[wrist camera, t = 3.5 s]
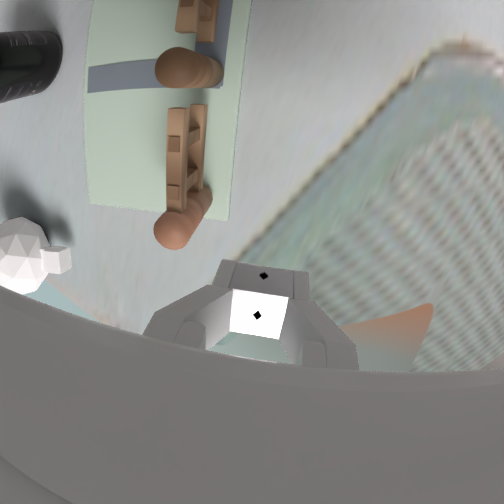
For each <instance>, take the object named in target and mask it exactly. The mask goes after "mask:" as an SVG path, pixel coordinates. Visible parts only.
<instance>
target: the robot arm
mask: <svg viewBox="0 0 504 504" xmlns="http://www.w3.org/2000/svg"><path fill="white" fill-rule="evenodd" d="M229 331H233V332H240V333H248V334H254V335H259V336H265V337H271V338H276V339H278V340H279V342H280V344H281V345H282V347H283V349H284V350H285V352H286V354H287V355H288V357H289V359H290V361H291V363H292V364H286V363H279V362H272V361H265V360H258V359H251V358H246V357H239V356H234V355H229V354H223V353H218V352H213V351H208V350H209V349H210V348H211V347H213V346H214V345H215V344H216V343H217V342H219V341H220V340H221V339H222V338H223V337H224V336H225V335H227V334H228V333H229ZM0 504H504V368H497V369H486V370H472V371H452V372H381V371H380V372H379V371H360V370H359V365H358V358H357V352H356V346H355V344H354V343H353V342H352V341H351V340H350V339H349V338H348V337H347V336H346V334H344V332H343V331H342V330H341V329H340V328H339V327H338V326H337V325H336V324H335V323H334V322H333V321H332V320H331V319H330V318H329V317H328V315H327V314H326V313H325V312H324V311H323V310H322V309H321V308H320V307H319V306H318V305H317V304H316V303H315V302H313V301H310V287H309V273H308V272H303V271H295V270H286V269H279V268H271V267H265V266H261V265H256V264H250V263H245V262H239V261H234V260H227V259H223V260H222V261H221V263H220V265H219V268H218V270H217V273H216V276H215V278H214V281H213V283H212V285H206V286H204V287H202V288H200V289H198V290H196V291H194V292H193V293H191V294H189V295H187V296H185V297H183V298H181V299H179V300H177V301H175V302H173V303H172V304H170V305H168V306H166V307H164V308H162V309H160V310H158V311H156V312H155V313H154V315H153V316H152V318H151V320H150V322H149V324H148V326H147V327H146V329H145V331H144V333H143V335H140V334H136V333H133V332H129V331H126V330H122V329H119V328H115V327H112V326H108V325H105V324H102V323H99V322H96V321H92V320H89V319H86V318H83V317H80V316H77V315H74V314H72V313H68V312H66V311H63V310H60V309H58V308H55V307H52V306H49V305H47V304H44V303H42V302H39V301H36V300H34V299H31V298H29V297H26V296H24V295H22V294H19V293H17V292H15V291H12V290H10V289H8V288H5V287H3V286H1V285H0Z"/></svg>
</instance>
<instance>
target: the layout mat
mask: <svg viewBox="0 0 504 504" xmlns="http://www.w3.org/2000/svg"><path fill="white" fill-rule="evenodd" d="M178 3H179V0H93V5H92V11H91V17H90V24H89V31H88V40H87V49H86V61H85V77H84V144H85V161H86V173H87V184H88V193H89V201H90V204H95V205H104V206H113V207H122V208H130V209H138V210H146V211H154V212H162V213H164V212H165V211H166V142H167V115H168V108H173V107H183V108H190V104H208V112H207V125H206V139H205V155H204V173H203V185H204V186H206V187H207V188H208V189H209V190H210V191H211V193H212V197H213V201H212V204H211V206H210V207H209V209H208V211H207V212H206V214H205V215H204V217H203V218H207V219H214V220H221V221H229V210H230V198H231V186H232V175H233V164H234V153H235V142H236V132H237V122H238V112H239V102H240V93H241V84H242V75H243V66H244V58H245V49H246V41H247V33H248V25H249V18H250V10H251V3H252V0H220V3H219V10H218V18H217V25H216V33H215V41H214V43H200V42H197V41H196V39H197V33H187V34H180V33H178V32H176V31H175V24H176V17H177V10H178ZM173 47H183V48H186V49H189V50H192V51H195V52H197V53H200V54H203V55H205V56H208V57H210V58H213V59H215V60H217V61H219V62H220V63H221V64H222V66H223V69H224V76H223V78H222V80H221V82H220V83H219V84H218V85H216V86H214V87H212V88H168V87H165V86H163V85H162V84H160V83H159V81H158V80H157V78H156V76H155V64H156V61H157V59H158V58H159V56H160V55H161V54H162V53H163V52H164V51H166V50H168V49H170V48H173Z"/></svg>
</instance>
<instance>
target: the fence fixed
mask: <svg viewBox="0 0 504 504" xmlns="http://www.w3.org/2000/svg"><path fill="white" fill-rule="evenodd" d="M219 3H220V0H179V3H178V10H177V17H176V24H175V31H176V32H178V33H180V34H187V33H197V39H196V41H197V42H200V43H214V41H215V33H216V25H217V18H218V10H219ZM155 76H156V78H157V80H158V81H159V83H160V84H162V85H163V86H165V87H168V88H212V87H214V86H216V85H218V84H219V83H220V82H221V80H222V78H223V76H224V69H223V66H222V64H221V63H220V62H219V61H217V60H215V59H213V58H210V57H208V56H205V55H203V54H200V53H197V52H195V51H192V50H189V49H186V48H183V47H173V48H170V49H168V50H166V51H164V52H163V53H162V54H161V55H160V56H159V58H158V59H157V61H156V64H155Z"/></svg>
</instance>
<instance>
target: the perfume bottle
mask: <svg viewBox="0 0 504 504" xmlns="http://www.w3.org/2000/svg"><path fill="white" fill-rule="evenodd" d="M71 268H72V265H71V254H70V247H61V246H53V247H51V246H50V244H49V242H48V240H47V238H46V236H45V234H44V232H43V230H42V228H41V226H40V225H38V224H36V223H34V222H32V221H30V220H28V219H26V218H24V217H19V218H15V219H11V220H7V221H5V222H3V223H2V224H0V285H1V286H3V287H5V288H8V289H10V290H12V291H15V292H17V293H19V294H26V293H30V292H33V291H36V290H37V289H38V287H39V286H40V284H41V283H42V281H43V280H44V279H45V277H46V276H47V274H48V273H55V274H62V273H64V272H66V271H67V270H69V269H71Z"/></svg>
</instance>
